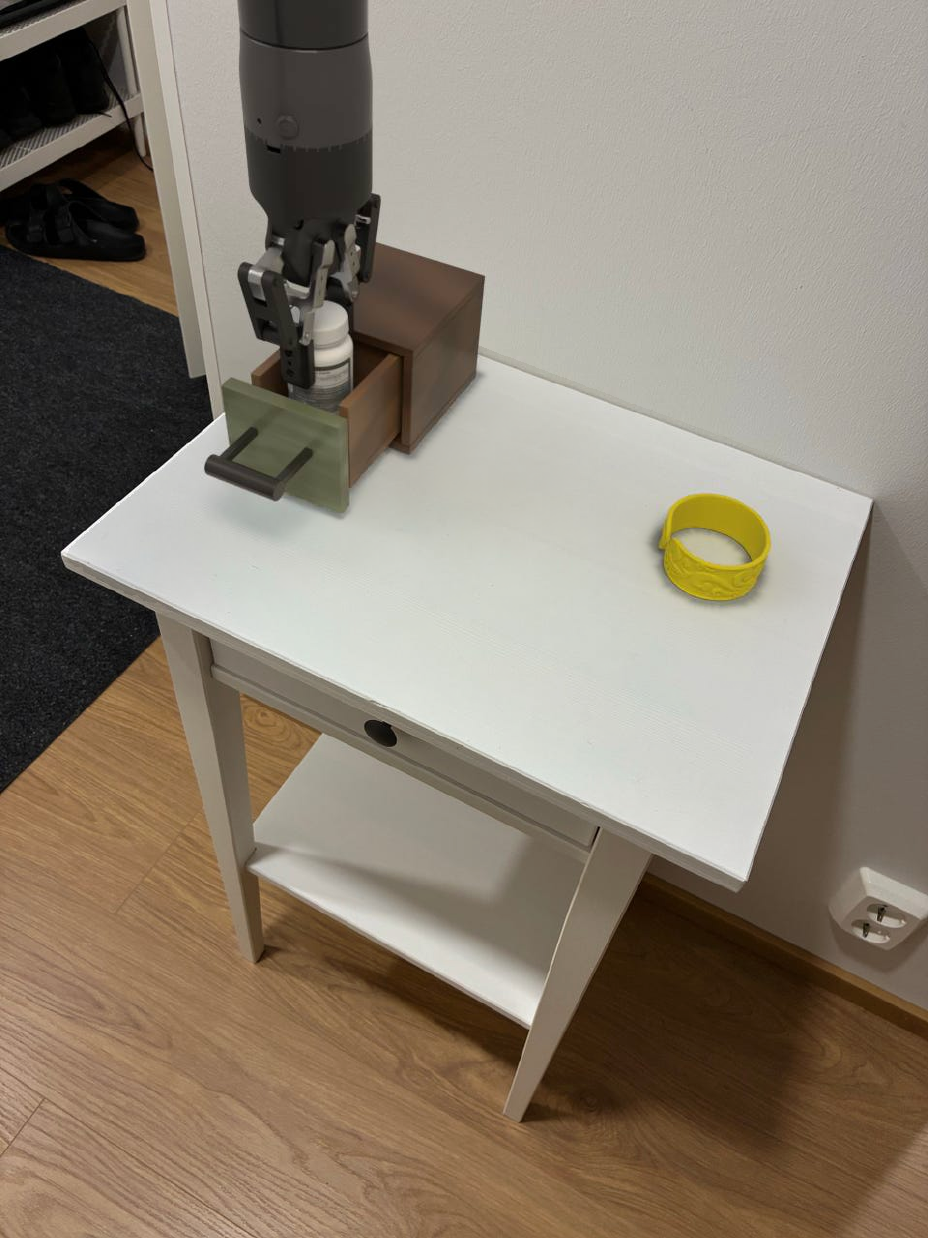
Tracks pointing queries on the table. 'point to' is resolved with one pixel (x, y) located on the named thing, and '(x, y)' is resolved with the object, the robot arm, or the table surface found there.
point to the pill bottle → (328, 360)
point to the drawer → (309, 431)
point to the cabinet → (422, 331)
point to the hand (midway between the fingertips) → (319, 364)
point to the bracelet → (722, 518)
